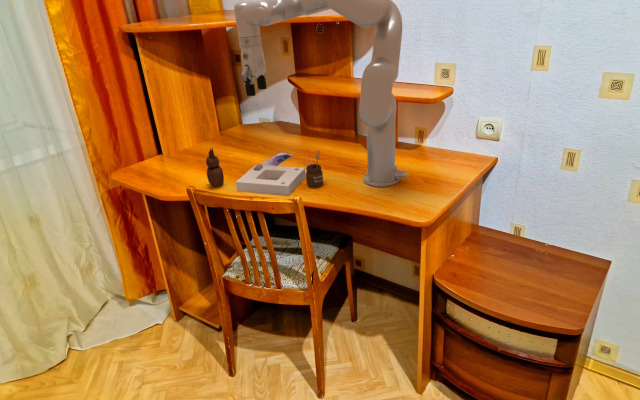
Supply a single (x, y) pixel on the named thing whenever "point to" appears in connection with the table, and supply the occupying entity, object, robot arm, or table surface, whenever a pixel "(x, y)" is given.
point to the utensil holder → (314, 174)
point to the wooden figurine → (214, 170)
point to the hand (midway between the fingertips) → (256, 92)
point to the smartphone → (277, 159)
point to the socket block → (282, 186)
